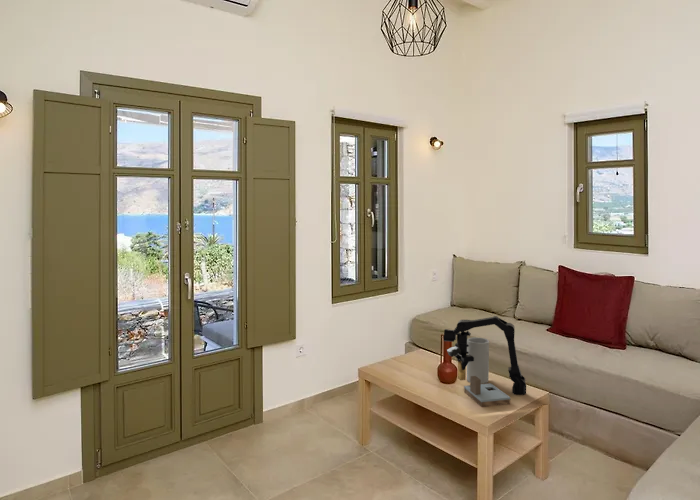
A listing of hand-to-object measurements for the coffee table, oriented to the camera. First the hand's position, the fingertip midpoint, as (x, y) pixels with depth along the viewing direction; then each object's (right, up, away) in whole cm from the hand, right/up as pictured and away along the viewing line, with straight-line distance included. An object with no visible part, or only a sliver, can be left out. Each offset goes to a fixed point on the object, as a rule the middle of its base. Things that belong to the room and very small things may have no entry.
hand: (461, 369), depth 272 cm
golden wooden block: (0, -6, +1) cm, 6 cm away
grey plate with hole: (+10, -9, -16) cm, 20 cm away
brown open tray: (+10, -13, -15) cm, 22 cm away
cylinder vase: (+12, -11, +12) cm, 20 cm away
